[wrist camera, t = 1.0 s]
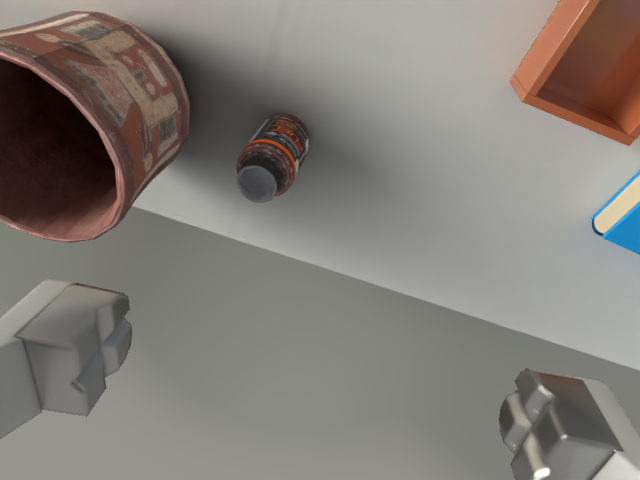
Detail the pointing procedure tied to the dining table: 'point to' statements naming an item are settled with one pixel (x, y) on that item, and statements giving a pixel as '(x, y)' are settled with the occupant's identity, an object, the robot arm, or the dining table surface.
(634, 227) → the book
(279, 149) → the supplement bottle
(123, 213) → the pottery
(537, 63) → the caddy
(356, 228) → the dining table surface
